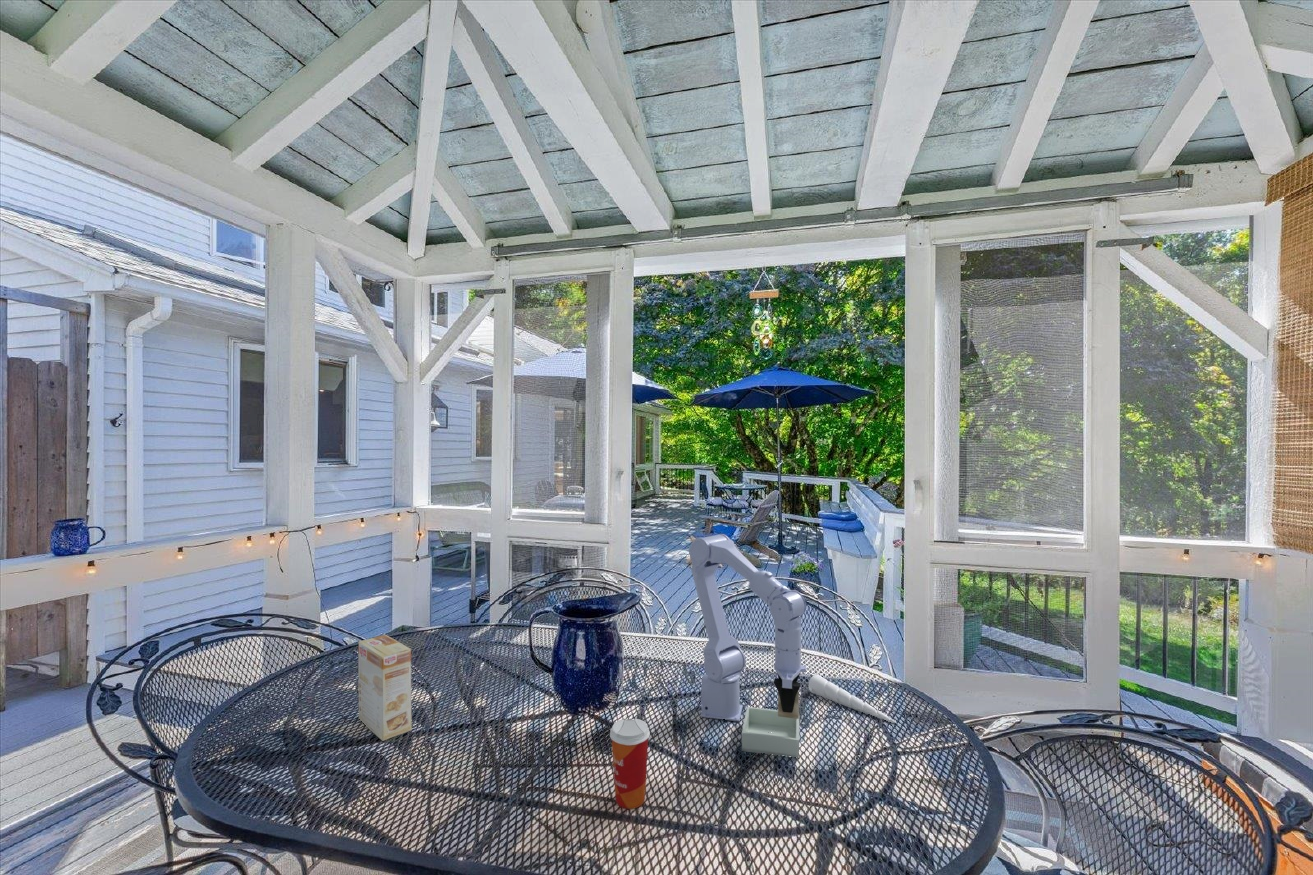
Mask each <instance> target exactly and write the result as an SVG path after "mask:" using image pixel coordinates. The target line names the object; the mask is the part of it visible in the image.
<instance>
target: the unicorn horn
mask: <svg viewBox="0 0 1313 875" xmlns="http://www.w3.org/2000/svg"><path fill="white" fill-rule="evenodd" d="M808 690H809V692H810V693H812V694H813V695H817V696H819V697H821V696H822V697H821V698H824V699H827V700H829V701H831V700H832V701H831V702H833V703H836V704H840V705H842V706H845V707H847V708H850V709H853V710H854V711H858V712H860V713H862V712H863V713H862V714H866V715H868V714H870V715H869V716H871V715H872V716H871V717H873V716H875V717H874V718H876V717H877V718H876V719H880V720H882V719H884V720H886V721H885V722H887V721H888V722H887V723H890V722H891V723H890V724H895V723H896V724H898V723H897V721H895V720H894V719H892V718H891V717H889V716H888V715H887V714H885V713H883V712H882V711H880V710H878V709H877V710H876V707H874V706H871V705H870V704H869V703H867V702H864V701H863V700H862V699H861V698H858V696H857V697H856V695H854V694H851V693H850V692H848V691H846V690H845V689H843V688H842V687H839V686H838V685H837V684H835V683H833V682H832V681H830V680H829V681H828V680H827V679H826V678H824V677H822V676H821V675H819V674H814V675H812V676H811V678H810V679H809V682H808ZM884 720H883V721H884ZM896 724H895V725H896Z"/></svg>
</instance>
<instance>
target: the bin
mask: <svg viewBox="0 0 1313 875" xmlns="http://www.w3.org/2000/svg"><path fill="white" fill-rule="evenodd" d="M768 732H769V733H768ZM771 732H772V733H771ZM773 732H774V733H773ZM747 751H749V753H754V752H755V754H761V753H762V755H763V753H765V754H764V755H768V754H774V755H773V756H776V755H787V756H792V757H797V758H796V759H798V757H799V758H800V718H799V719H795V718H787V717H779V716H778V709H777V710H776V709H772V708H771V709H769V708H760V707H752V706H746V711H745V716H744V720H743V725H742V731H741V752H747Z"/></svg>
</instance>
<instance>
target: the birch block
mask: <svg viewBox="0 0 1313 875" xmlns="http://www.w3.org/2000/svg"><path fill="white" fill-rule="evenodd" d="M777 710H778V716H779V717H787V718H795V719H799V720H800V689H799V690H798V692H797V694H796V697H795V702H794V708H793V712H792V713H789V712H783V711H782V707H781V701H780V696H779V693H778V692H777Z"/></svg>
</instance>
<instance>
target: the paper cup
mask: <svg viewBox="0 0 1313 875" xmlns="http://www.w3.org/2000/svg"><path fill="white" fill-rule="evenodd" d="M650 735H651V732H650V729H649V727H648V724H647V722H645V721H644V720H643V719H640V718H634V719H633V718H626V719H624V718H622V719H619V720H617V721H616V722H614V724H613V725H612V726H611V730H610V731H609V737H610V739H611V747H612V748H611V749H612V750H611V751H612V765H613V766H612V767H613V780H614V781H613V782H614V795H615V796H614V798H615V802H616V804H617V805H618V806H619V807H620V808H622V809H626V810H634V809H638V808H639V807H641V806H643V804H644V803H645V800H646V784H647V769H648V768H647V767H648V747H649V737H650Z"/></svg>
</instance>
